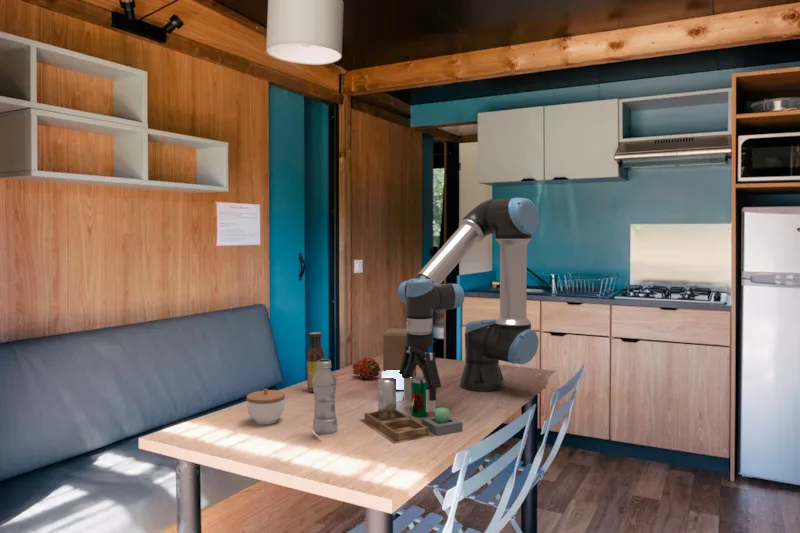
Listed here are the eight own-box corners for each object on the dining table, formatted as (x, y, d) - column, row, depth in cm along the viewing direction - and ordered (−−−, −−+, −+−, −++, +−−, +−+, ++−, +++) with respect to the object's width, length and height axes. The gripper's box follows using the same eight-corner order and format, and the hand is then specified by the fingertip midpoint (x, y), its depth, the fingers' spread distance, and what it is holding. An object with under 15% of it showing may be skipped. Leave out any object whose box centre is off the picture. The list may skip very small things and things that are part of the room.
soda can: (430, 420, 176) (430, 379, 175) (413, 421, 175) (413, 380, 174) (426, 415, 181) (425, 375, 180) (409, 416, 180) (409, 376, 179)
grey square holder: (446, 426, 171) (446, 414, 170) (462, 435, 163) (462, 422, 163) (421, 431, 167) (421, 418, 167) (436, 440, 160) (436, 426, 160)
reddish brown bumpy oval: (379, 385, 223) (354, 385, 230) (389, 368, 228) (364, 368, 235) (368, 369, 219) (343, 369, 226) (378, 352, 224) (353, 353, 231)
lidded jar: (292, 417, 180) (291, 386, 179) (272, 428, 170) (272, 395, 169) (260, 414, 184) (259, 383, 183) (239, 425, 173) (238, 392, 173)
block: (411, 391, 207) (411, 333, 206) (382, 390, 209) (382, 332, 208) (416, 384, 217) (416, 328, 216) (389, 383, 219) (388, 327, 218)
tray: (396, 417, 179) (396, 406, 179) (434, 440, 160) (434, 428, 159) (358, 423, 174) (358, 412, 173) (393, 448, 154) (393, 435, 154)
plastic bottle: (327, 440, 160) (326, 364, 159) (307, 435, 164) (306, 361, 163) (342, 433, 166) (341, 359, 165) (323, 429, 169) (322, 357, 168)
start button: (444, 418, 168) (444, 406, 167) (451, 422, 164) (451, 410, 164) (432, 420, 166) (432, 408, 166) (439, 424, 162) (439, 412, 162)
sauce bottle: (327, 392, 208) (327, 333, 207) (309, 394, 206) (308, 335, 204) (323, 387, 214) (322, 331, 213) (305, 389, 212) (304, 332, 211)
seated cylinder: (391, 418, 174) (390, 376, 174) (399, 423, 170) (398, 380, 169) (375, 421, 172) (374, 379, 171) (383, 426, 168) (382, 382, 167)
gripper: (388, 327, 186) (388, 396, 187) (429, 340, 164) (429, 418, 165) (410, 325, 189) (410, 393, 190) (453, 338, 167) (453, 414, 168)
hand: (419, 405), depth 178 cm, fingers open, 13 cm apart
